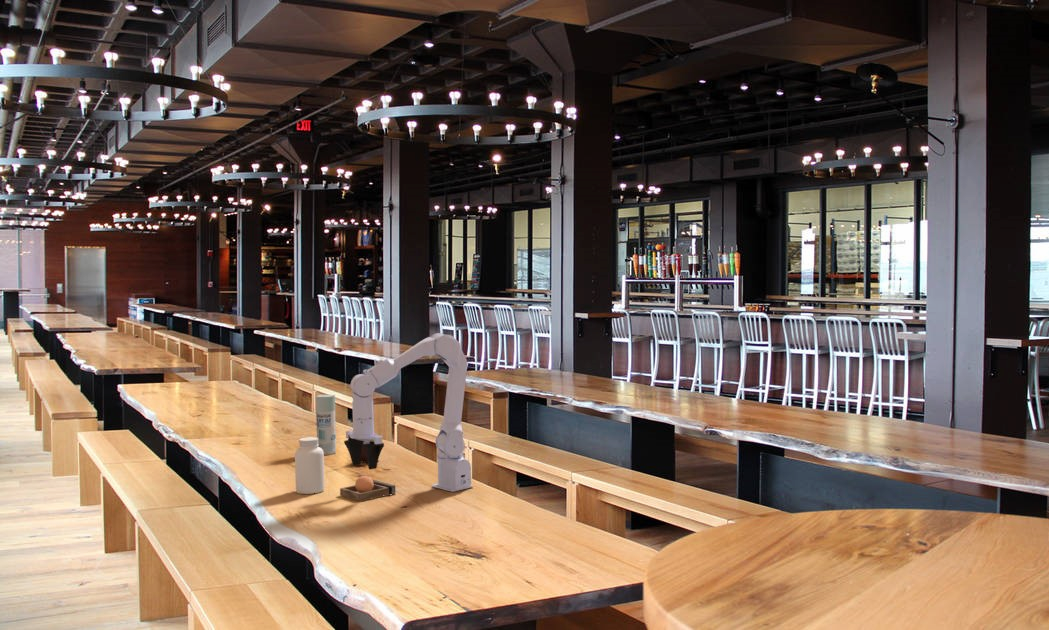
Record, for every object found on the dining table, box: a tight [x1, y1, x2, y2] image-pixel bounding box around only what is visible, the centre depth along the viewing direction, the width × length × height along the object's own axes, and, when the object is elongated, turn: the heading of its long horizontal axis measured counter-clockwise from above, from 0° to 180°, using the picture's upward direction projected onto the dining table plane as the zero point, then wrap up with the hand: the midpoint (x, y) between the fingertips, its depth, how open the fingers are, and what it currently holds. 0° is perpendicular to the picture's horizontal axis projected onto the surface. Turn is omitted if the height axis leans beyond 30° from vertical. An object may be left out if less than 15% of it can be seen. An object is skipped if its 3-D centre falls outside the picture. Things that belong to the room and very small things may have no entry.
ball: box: [355, 475, 374, 493], centre depth 241 cm, size 5×5×5 cm
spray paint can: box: [315, 394, 337, 456], centre depth 299 cm, size 6×6×20 cm
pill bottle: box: [294, 436, 325, 495], centre depth 246 cm, size 8×8×15 cm
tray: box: [339, 484, 390, 502], centre depth 241 cm, size 10×10×2 cm
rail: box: [371, 478, 396, 495], centre depth 245 cm, size 12×1×2 cm, turn 46°
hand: (364, 466), depth 240 cm, fingers open, 7 cm apart
